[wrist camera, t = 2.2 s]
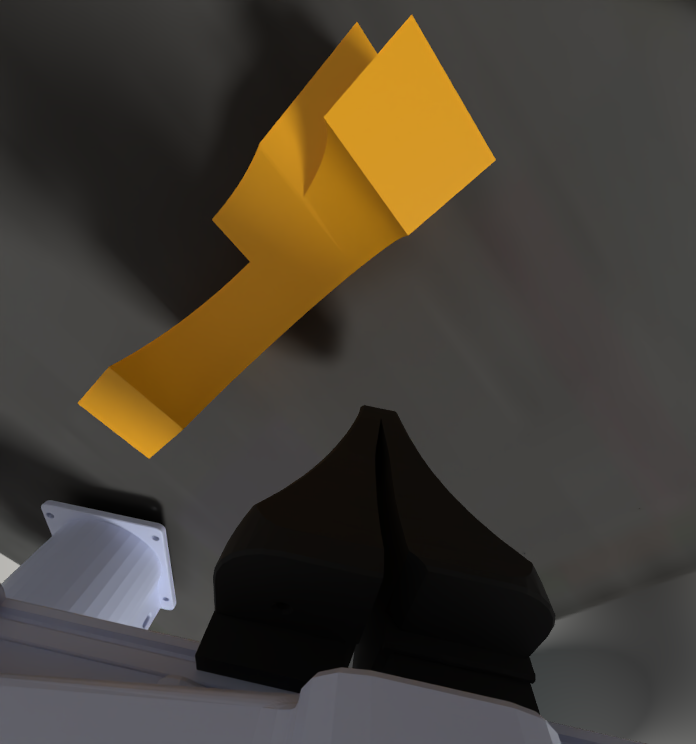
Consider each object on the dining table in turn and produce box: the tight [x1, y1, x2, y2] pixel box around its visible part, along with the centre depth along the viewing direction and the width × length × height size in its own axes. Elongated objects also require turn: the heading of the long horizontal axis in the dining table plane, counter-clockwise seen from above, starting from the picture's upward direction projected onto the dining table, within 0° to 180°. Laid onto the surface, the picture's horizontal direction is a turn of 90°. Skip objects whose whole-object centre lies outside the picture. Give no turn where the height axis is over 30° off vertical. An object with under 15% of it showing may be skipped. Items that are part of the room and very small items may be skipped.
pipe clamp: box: [78, 15, 496, 458], centre depth 10 cm, size 12×4×6 cm, turn 131°
